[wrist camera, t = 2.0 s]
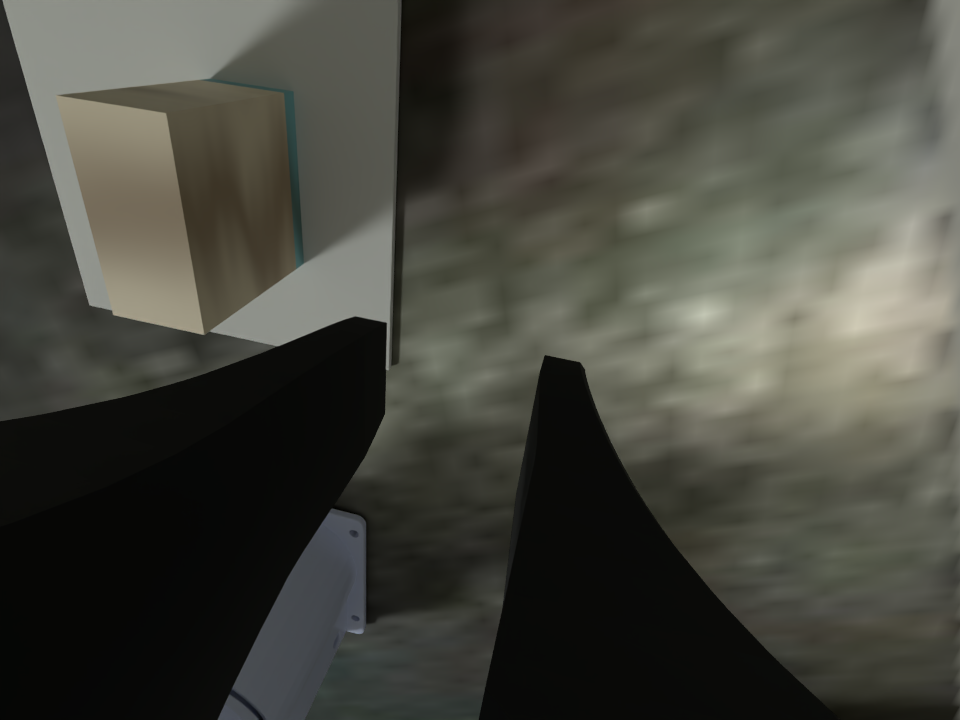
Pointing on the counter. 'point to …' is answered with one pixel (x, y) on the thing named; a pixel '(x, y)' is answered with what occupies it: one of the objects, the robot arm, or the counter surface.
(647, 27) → the counter surface
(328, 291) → the grey rubber mat
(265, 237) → the maple block
